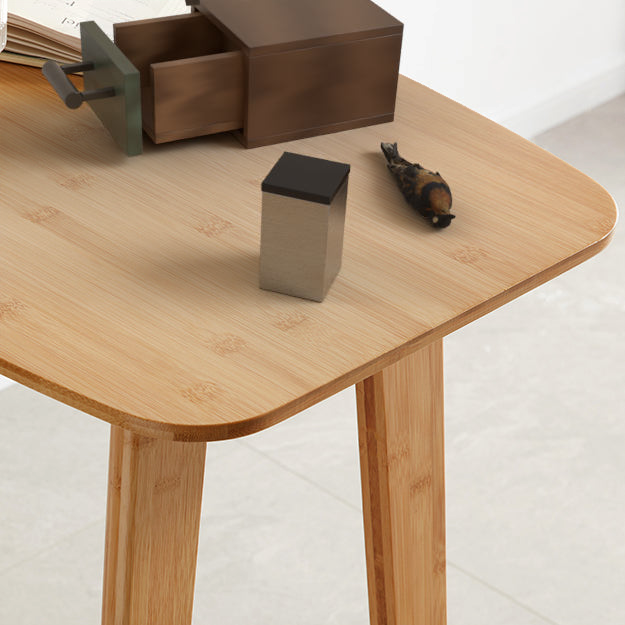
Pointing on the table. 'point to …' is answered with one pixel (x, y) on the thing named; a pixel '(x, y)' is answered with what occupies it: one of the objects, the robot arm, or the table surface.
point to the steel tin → (302, 225)
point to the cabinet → (311, 65)
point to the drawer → (157, 79)
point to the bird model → (420, 187)
